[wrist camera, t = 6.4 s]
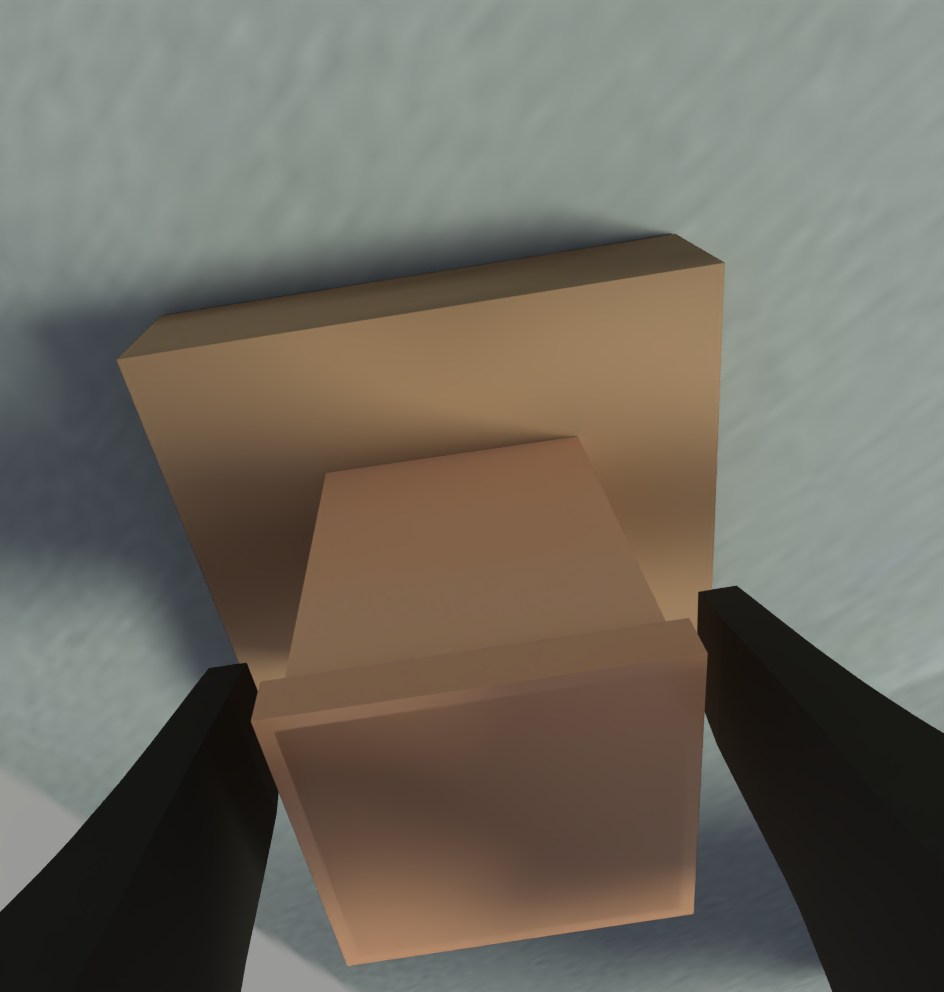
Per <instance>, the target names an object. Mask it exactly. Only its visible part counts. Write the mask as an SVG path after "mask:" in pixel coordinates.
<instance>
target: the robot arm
mask: <svg viewBox="0 0 944 992" xmlns="http://www.w3.org/2000/svg"><path fill="white" fill-rule="evenodd" d="M697 634H698V636H699V638H700V640H701V642H702V643H703V645H704V647H705V649H706V651H707V653H708V657H707V675H706V694H705V714H706V716H707V719H708V722H709V724H710V727H711V730H712V732H713V735H714V738H715V740H716V743H717V745H718V747H719V749H720V751H721V753H722V756H723V758H724V760H725V762H726V764H727V766H728V768H729V769H730V771H731V773H732V775H733V777H734V779H735V781H736V783H737V785H738V787H739V789H740V791H741V793H742V795H743V797H744V799H745V801H746V803H747V805H748V807H749V809H750V811H751V813H752V815H753V817H754V819H755V821H756V822H757V824H758V826H759V828H760V830H761V832H762V834H763V836H764V838H765V840H766V842H767V844H768V846H769V848H770V850H771V852H772V854H773V856H774V858H775V860H776V861H777V863H778V865H779V867H780V869H781V871H782V873H783V875H784V877H785V879H786V881H787V883H788V886H789V888H790V890H791V892H792V894H793V896H794V899H795V901H796V903H797V905H798V907H799V909H800V912H801V914H802V917H803V919H804V922H805V924H806V927H807V929H808V932H809V934H810V937H811V939H812V942H813V944H814V947H815V949H816V951H817V954H818V956H819V959H820V961H821V964H822V966H823V969H824V971H825V974H826V976H827V979H828V981H829V984H830V987H831V989H832V992H944V733H942V732H941V731H939V730H937V729H936V728H934V727H932V726H931V725H929V724H928V723H926V722H924V721H923V720H921V719H919V718H918V717H916V716H914V715H913V714H911V713H910V712H908V711H907V710H905V709H904V708H902V707H901V706H899V705H898V704H896V703H895V702H893V701H891V700H890V699H888V698H887V697H885V696H884V695H882V694H881V693H879V692H878V691H876V690H875V689H873V688H872V687H870V686H869V685H867V684H866V683H864V682H863V681H862V680H860V679H859V678H857V677H856V676H854V675H853V674H852V673H850V672H849V671H848V670H846V669H845V668H843V667H842V666H841V665H839V664H838V663H837V662H835V661H834V660H832V659H831V658H830V657H828V656H827V655H826V654H824V653H823V652H821V651H820V650H819V649H817V648H816V647H815V646H814V645H812V644H811V643H810V642H808V641H807V640H806V639H804V638H803V637H802V636H800V635H799V634H798V633H797V632H795V631H794V630H793V629H791V628H790V627H789V626H788V625H786V624H785V623H784V622H782V621H781V620H780V619H779V618H777V617H776V616H775V615H773V614H772V613H771V612H770V611H768V610H767V609H766V608H765V607H763V606H762V605H761V604H760V603H758V602H757V601H756V600H754V599H753V598H752V597H751V596H749V595H748V594H747V593H745V592H744V591H743V590H742V589H740V588H739V587H738V586H732V587H725V588H719V589H712V590H706V591H700V592H698V618H697ZM257 693H258V690H257V687H256V685H255V682H254V680H253V677H252V675H251V672H250V670H249V667H248V664H247V662H246V663H240V664H234V665H227V666H221V667H214V668H209V669H208V670H207V671H206V673H205V674H204V675H203V676H202V678H201V679H200V680H199V681H198V683H197V684H196V685H195V687H194V688H193V689H192V690H191V692H190V693H189V694H188V696H187V697H186V698H185V699H184V701H183V702H182V703H181V705H180V706H179V707H178V709H177V710H176V711H175V712H174V714H173V715H172V716H171V718H170V719H169V720H168V722H167V723H166V724H165V726H164V727H163V728H162V729H161V731H160V732H159V733H158V735H157V736H156V737H155V738H154V740H153V741H152V742H151V744H150V745H149V746H148V747H147V749H146V750H145V751H144V752H143V754H142V755H141V756H140V757H139V759H138V760H137V761H136V762H135V764H134V765H133V766H132V767H131V769H130V770H129V771H128V773H127V774H126V775H125V776H124V778H123V779H122V780H121V781H120V783H119V784H118V785H117V786H116V787H115V788H114V790H113V791H112V792H111V793H110V794H109V795H108V796H107V798H106V799H105V800H104V801H103V802H102V803H101V805H100V806H99V807H98V808H97V809H96V810H95V812H94V813H93V814H92V815H91V816H90V817H89V819H88V820H87V821H86V822H85V823H84V824H83V826H82V827H81V828H80V829H79V830H78V831H77V833H76V834H75V835H74V836H73V837H72V838H71V839H70V841H69V842H68V843H67V844H66V845H65V846H64V847H63V848H62V849H61V850H60V852H59V853H58V854H57V855H56V856H55V857H54V858H53V859H52V860H51V861H50V862H49V863H48V864H47V865H46V866H45V867H44V868H43V869H42V870H41V872H40V873H39V874H38V875H37V876H36V877H35V878H34V879H33V880H32V881H31V882H30V883H29V884H28V885H27V886H26V887H25V888H24V889H23V890H22V891H21V892H20V893H19V894H18V895H17V896H16V897H15V898H14V899H13V900H12V901H11V902H10V903H9V904H8V905H7V906H6V907H5V908H4V909H3V910H2V911H1V912H0V992H241V987H242V982H243V975H244V970H245V964H246V959H247V954H248V949H249V944H250V939H251V935H252V930H253V926H254V921H255V916H256V911H257V907H258V902H259V897H260V892H261V888H262V883H263V878H264V873H265V869H266V864H267V859H268V854H269V849H270V844H271V839H272V834H273V829H274V824H275V819H276V814H277V803H278V793H279V791H278V789H277V786H276V784H275V781H274V779H273V776H272V774H271V771H270V769H269V766H268V764H267V761H266V759H265V756H264V754H263V751H262V748H261V746H260V743H259V741H258V738H257V736H256V733H255V731H254V728H253V726H252V723H251V718H252V714H253V710H254V706H255V702H256V698H257Z"/></svg>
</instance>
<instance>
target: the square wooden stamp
mask: <svg viewBox="0 0 944 992" xmlns="http://www.w3.org/2000/svg"><path fill="white" fill-rule="evenodd" d="M707 657H708V653H707V651H706V649H705V647H704V645H703V643H702V642H701V640H700V638H699V636H698V634H697V632H696V630H695V628H694V626H693V624H692V622H691V620H690V619H689V618H685V619H678V620H671V621H666V620H665V618H664V616H663V614H662V612H661V610H660V608H659V606H658V604H657V602H656V599H655V597H654V595H653V593H652V591H651V589H650V587H649V585H648V583H647V581H646V578H645V576H644V574H643V572H642V570H641V568H640V566H639V564H638V562H637V560H636V557H635V555H634V553H633V551H632V549H631V547H630V545H629V543H628V541H627V539H626V536H625V534H624V532H623V530H622V528H621V526H620V524H619V522H618V520H617V518H616V515H615V513H614V511H613V509H612V507H611V505H610V503H609V501H608V499H607V497H606V495H605V492H604V490H603V488H602V486H601V484H600V482H599V480H598V478H597V476H596V474H595V471H594V469H593V467H592V465H591V463H590V461H589V459H588V457H587V455H586V453H585V450H584V448H583V446H582V444H581V442H580V440H579V438H578V436H575V437H569V438H562V439H555V440H548V441H541V442H535V443H528V444H521V445H514V446H507V447H501V448H494V449H487V450H480V451H473V452H466V453H460V454H453V455H446V456H439V457H432V458H426V459H419V460H412V461H405V462H398V463H391V464H385V465H378V466H371V467H364V468H357V469H351V470H344V471H337V472H330V473H326V475H325V480H324V485H323V490H322V495H321V500H320V505H319V510H318V515H317V520H316V525H315V530H314V535H313V540H312V545H311V550H310V555H309V560H308V565H307V570H306V575H305V580H304V585H303V590H302V594H301V599H300V604H299V609H298V614H297V619H296V624H295V629H294V634H293V639H292V644H291V649H290V654H289V659H288V664H287V669H286V674H285V678H280V679H273V680H267V681H260V685H259V689H258V693H257V698H256V702H255V706H254V710H253V714H252V718H251V723H252V726H253V728H254V731H255V733H256V736H257V738H258V741H259V743H260V746H261V748H262V751H263V754H264V756H265V759H266V761H267V764H268V766H269V769H270V771H271V774H272V776H273V779H274V781H275V784H276V786H277V789H278V791H279V794H280V797H281V799H282V802H283V804H284V807H285V809H286V812H287V814H288V817H289V819H290V822H291V824H292V827H293V829H294V832H295V834H296V837H297V840H298V842H299V845H300V847H301V850H302V852H303V855H304V857H305V860H306V862H307V865H308V867H309V870H310V872H311V875H312V878H313V880H314V883H315V885H316V888H317V890H318V893H319V895H320V898H321V900H322V903H323V905H324V908H325V910H326V913H327V915H328V918H329V921H330V923H331V926H332V928H333V931H334V933H335V936H336V938H337V941H338V943H339V946H340V948H341V951H342V953H343V956H344V958H345V961H346V964H347V966H351V965H358V964H365V963H371V962H378V961H385V960H391V959H398V958H405V957H411V956H418V955H424V954H431V953H438V952H444V951H451V950H458V949H464V948H471V947H478V946H484V945H491V944H497V943H504V942H511V941H517V940H524V939H531V938H537V937H544V936H551V935H557V934H564V933H570V932H577V931H584V930H590V929H597V928H604V927H610V926H617V925H623V924H630V923H637V922H643V921H650V920H657V919H663V918H670V917H677V916H683V915H690V914H694V896H695V878H696V860H697V841H698V823H699V804H700V786H701V767H702V749H703V731H704V712H705V694H706V675H707Z"/></svg>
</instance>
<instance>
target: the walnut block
mask: <svg viewBox="0 0 944 992" xmlns="http://www.w3.org/2000/svg"><path fill="white" fill-rule="evenodd" d="M724 268H725V263H724V262H722V261H721V260H719V259H717V258H716V257H714V256H712V255H710V254H709V253H707V252H705V251H704V250H702V249H700V248H699V247H697V246H695V245H693V244H692V243H690V242H688V241H687V240H685V239H683V238H682V237H680V236H678V235H676V234H672V235H666V236H659V237H653V238H647V239H640V240H634V241H628V242H622V243H615V244H609V245H603V246H597V247H590V248H584V249H578V250H571V251H565V252H559V253H553V254H546V255H540V256H534V257H527V258H521V259H515V260H509V261H502V262H496V263H490V264H483V265H477V266H471V267H465V268H458V269H452V270H446V271H439V272H433V273H427V274H421V275H414V276H408V277H402V278H396V279H389V280H383V281H377V282H370V283H364V284H358V285H352V286H345V287H339V288H333V289H326V290H320V291H314V292H308V293H301V294H295V295H289V296H282V297H276V298H270V299H264V300H257V301H251V302H245V303H238V304H232V305H226V306H220V307H213V308H207V309H201V310H194V311H188V312H182V313H176V314H169V315H163V316H160V317H159V318H158V319H157V320H156V321H155V322H154V323H153V324H152V325H151V326H150V327H149V328H148V329H147V330H146V331H145V332H144V333H143V334H142V335H141V336H140V337H139V338H138V339H137V340H136V341H135V342H134V343H133V344H132V345H131V346H130V347H129V348H128V349H127V350H126V351H125V352H124V353H123V354H122V355H121V356H120V357H119V358H118V359H117V362H118V365H119V367H120V370H121V372H122V375H123V377H124V380H125V382H126V385H127V387H128V390H129V392H130V395H131V397H132V399H133V402H134V404H135V407H136V409H137V412H138V414H139V417H140V419H141V422H142V424H143V427H144V429H145V432H146V434H147V437H148V439H149V442H150V444H151V447H152V449H153V451H154V454H155V456H156V459H157V461H158V464H159V466H160V469H161V471H162V474H163V476H164V479H165V481H166V484H167V486H168V489H169V491H170V494H171V496H172V499H173V501H174V504H175V506H176V508H177V511H178V513H179V516H180V518H181V521H182V523H183V526H184V528H185V531H186V533H187V536H188V538H189V541H190V543H191V546H192V548H193V551H194V553H195V556H196V558H197V560H198V563H199V565H200V568H201V570H202V573H203V575H204V578H205V580H206V583H207V585H208V588H209V590H210V593H211V595H212V598H213V600H214V603H215V605H216V608H217V610H218V613H219V615H220V617H221V620H222V622H223V625H224V627H225V630H226V632H227V635H228V637H229V640H230V642H231V645H232V647H233V650H234V652H235V655H236V657H237V660H238V662H239V664H240V663H246V662H247V664H248V667H249V670H250V672H251V675H252V677H253V680H254V682H255V685H256V687H257V690H258V689H259V685H260V681H267V680H273V679H280V678H285V674H286V669H287V664H288V659H289V654H290V649H291V644H292V639H293V634H294V629H295V624H296V619H297V614H298V609H299V604H300V599H301V594H302V590H303V585H304V580H305V575H306V570H307V565H308V560H309V555H310V550H311V545H312V540H313V535H314V530H315V525H316V520H317V515H318V510H319V505H320V500H321V495H322V490H323V485H324V480H325V475H326V473H330V472H337V471H344V470H351V469H357V468H364V467H371V466H378V465H385V464H391V463H398V462H405V461H412V460H419V459H426V458H432V457H439V456H446V455H453V454H460V453H466V452H473V451H480V450H487V449H494V448H501V447H507V446H514V445H521V444H528V443H535V442H541V441H548V440H555V439H562V438H569V437H575V436H578V438H579V440H580V442H581V444H582V446H583V448H584V450H585V453H586V455H587V457H588V459H589V461H590V463H591V465H592V467H593V469H594V471H595V474H596V476H597V478H598V480H599V482H600V484H601V486H602V488H603V490H604V492H605V495H606V497H607V499H608V501H609V503H610V505H611V507H612V509H613V511H614V513H615V515H616V518H617V520H618V522H619V524H620V526H621V528H622V530H623V532H624V534H625V536H626V539H627V541H628V543H629V545H630V547H631V549H632V551H633V553H634V555H635V557H636V560H637V562H638V564H639V566H640V568H641V570H642V572H643V574H644V576H645V578H646V581H647V583H648V585H649V587H650V589H651V591H652V593H653V595H654V597H655V599H656V602H657V604H658V606H659V608H660V610H661V612H662V614H663V616H664V618H665V620H666V621H671V620H678V619H685V618H689V619H690V620H691V622H692V624H693V626H694V628H695V630H696V632H697V618H698V592H700V591H706V590H712V579H713V553H714V527H715V501H716V475H717V449H718V423H719V397H720V371H721V345H722V319H723V294H724Z"/></svg>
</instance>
